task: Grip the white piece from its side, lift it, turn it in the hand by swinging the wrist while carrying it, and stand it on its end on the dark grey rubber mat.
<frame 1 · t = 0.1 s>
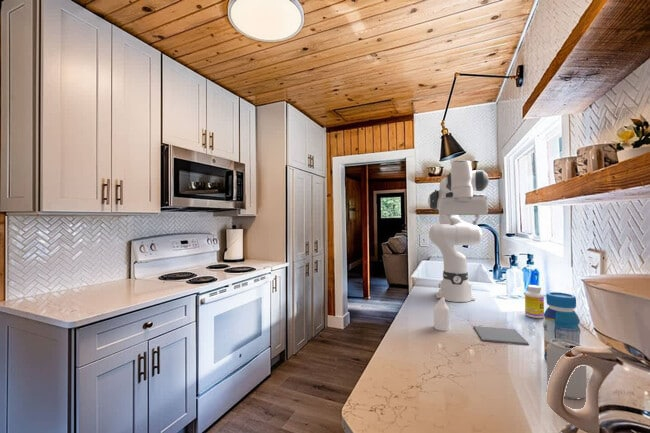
hand: (463, 225, 135), 39 cm above the countertop, tool pointing down, fingers open, 8 cm apart
white piece: (441, 328, 116), on the countertop
beverage bottle: (561, 364, 87), on the countertop
mat: (499, 335, 108), on the countertop
supplement bottle: (534, 316, 129), on the countertop
can: (566, 393, 73), on the countertop
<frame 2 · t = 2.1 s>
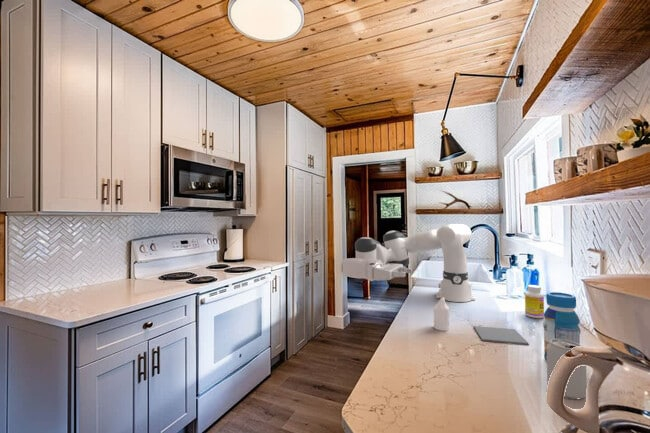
hand: (408, 272, 122), 20 cm above the countertop, tool horizontal, fingers open, 8 cm apart
nothing on the countertop moved.
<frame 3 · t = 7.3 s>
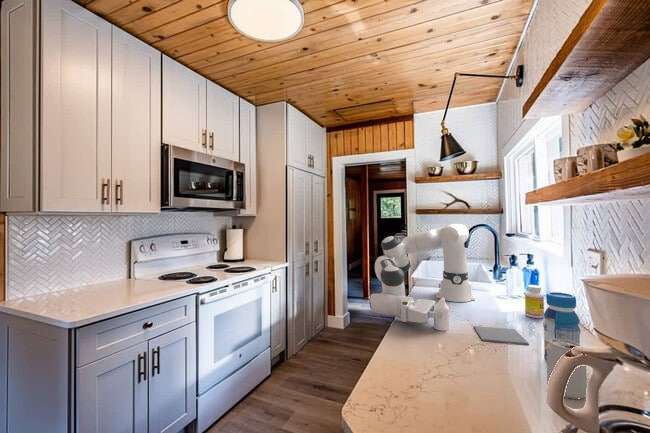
hand: (443, 312, 115), 6 cm above the countertop, tool horizontal, fingers closed on white piece, 6 cm apart
white piece: (441, 328, 116), on the countertop, touching gripper
everything else where it was.
when the fingers open (8 cm above the countertop, at t = 14.4 s): white piece moves 1 cm, resting on mat.
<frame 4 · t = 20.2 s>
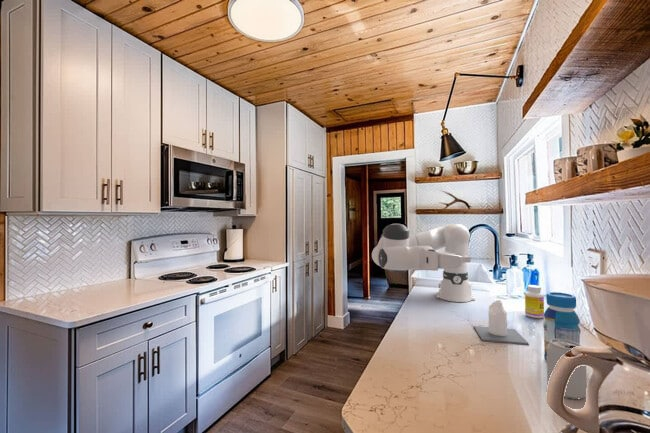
hand: (463, 257, 109), 28 cm above the countertop, tool horizontal, fingers open, 8 cm apart
white piece: (497, 333, 109), resting on mat
everything else where it was.
at the end: white piece inside the target area (0.8 cm from its centre), resting on mat; white piece resting on mat; the gripper is holding nothing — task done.
